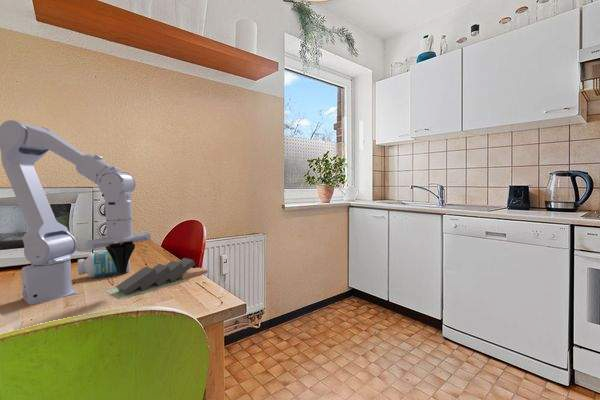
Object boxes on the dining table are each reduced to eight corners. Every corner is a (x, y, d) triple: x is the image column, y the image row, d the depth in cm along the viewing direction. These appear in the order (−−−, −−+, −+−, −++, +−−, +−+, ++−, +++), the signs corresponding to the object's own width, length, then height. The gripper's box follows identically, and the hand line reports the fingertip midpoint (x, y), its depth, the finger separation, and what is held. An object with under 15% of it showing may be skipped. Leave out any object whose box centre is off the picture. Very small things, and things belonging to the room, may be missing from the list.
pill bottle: (130, 271, 94) (77, 279, 87) (130, 272, 100) (80, 280, 93) (128, 247, 95) (76, 253, 89) (128, 250, 102) (80, 256, 95)
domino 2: (140, 286, 77) (168, 266, 83) (131, 282, 80) (158, 263, 86) (142, 290, 78) (170, 270, 84) (134, 287, 81) (161, 268, 87)
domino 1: (124, 290, 74) (154, 269, 80) (115, 286, 77) (145, 266, 83) (127, 295, 75) (157, 273, 81) (118, 291, 78) (148, 271, 84)
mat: (121, 300, 72) (120, 299, 72) (104, 292, 78) (104, 291, 78) (187, 281, 87) (187, 279, 87) (169, 275, 93) (169, 274, 93)
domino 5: (183, 273, 87) (207, 270, 94) (173, 271, 90) (198, 267, 97) (182, 279, 87) (207, 275, 94) (173, 276, 90) (197, 272, 97)
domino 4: (169, 278, 84) (193, 259, 90) (160, 275, 87) (183, 257, 93) (171, 282, 84) (195, 264, 91) (162, 279, 87) (186, 261, 94)
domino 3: (155, 281, 81) (181, 262, 87) (146, 278, 84) (172, 260, 90) (158, 286, 81) (183, 267, 87) (149, 283, 84) (174, 264, 90)
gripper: (92, 223, 67) (95, 282, 68) (155, 217, 79) (157, 268, 80) (81, 221, 72) (83, 277, 72) (142, 216, 83) (144, 264, 84)
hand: (121, 272), depth 76 cm, fingers closed
